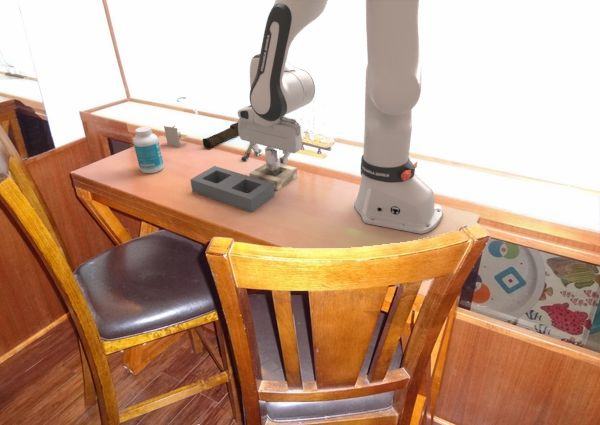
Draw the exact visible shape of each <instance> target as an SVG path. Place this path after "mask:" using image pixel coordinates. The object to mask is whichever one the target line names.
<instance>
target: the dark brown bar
mask: <svg viewBox="0 0 600 425" xmlns="http://www.w3.org/2000/svg"><path fill="white" fill-rule="evenodd" d="M237 137H240V136H239V132H238V121H237V122H235V123H232V124H230V125H229V127H228V128H227V129H224V130H222V131H220V132H217V133H215V134H213V135H211V136H208V137H206V138H202V143H203V144H202V145H203V147H204V148H205V149H208V150H211V149H212V148H215V146H217V145H219V144H220V143H223V142H226V141H227V140H229V139H231V138H237Z"/></svg>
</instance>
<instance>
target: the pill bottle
mask: <svg viewBox="0 0 600 425" xmlns="http://www.w3.org/2000/svg"><path fill="white" fill-rule="evenodd" d="M134 132H135V137H133V140H132V142H133V147H134V151H135V155H136V158H137V162H138V163H137V164H138V167H139V170H140V172H142V173H144V174H155V173H158V172H161V171H162V170H163V169H164V167H165V164H164V159H163V155H162V151H161V147H160V142H159V138H158V136H157V135H156V134H155V133H153V131H152V128H151V127H150V126H139V127H138V128H135V131H134Z"/></svg>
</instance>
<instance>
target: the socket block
mask: <svg viewBox="0 0 600 425" xmlns="http://www.w3.org/2000/svg"><path fill="white" fill-rule="evenodd" d="M249 176H250V177H253V178H257V179H260V180H263V181H267V182H270V183H273V184H274V191H279V190H281V189H282V188H283V187H285V186H286V185H288V184H289V183H291V182H292V181H293V180H295V179H296V178H297V177H298V167H295V166H292V165H288V164H282V163H280V174H279V175H278V176H276V177H274V176H271V175H267V168H266V162H265V163H264V164H262V165H260V166H259V167H258V168H256V169H254V170H253V171H251V172H250V173H249Z"/></svg>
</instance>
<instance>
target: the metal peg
mask: <svg viewBox="0 0 600 425" xmlns="http://www.w3.org/2000/svg"><path fill="white" fill-rule="evenodd" d="M264 153H265V163H266V168H267V175H271V176H274V177H276V176H278V175H279V174H280V158H281V157H280V150H279V149H275V148H271V147H268V146H265V148H264Z"/></svg>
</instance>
